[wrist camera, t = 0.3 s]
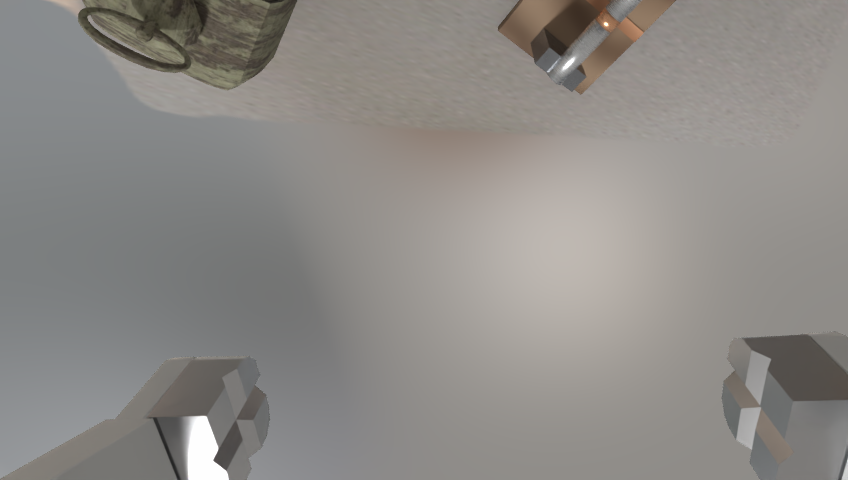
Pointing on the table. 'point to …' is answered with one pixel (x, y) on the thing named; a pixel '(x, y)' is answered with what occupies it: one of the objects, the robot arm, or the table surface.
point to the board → (579, 28)
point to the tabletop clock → (193, 35)
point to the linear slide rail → (577, 45)
